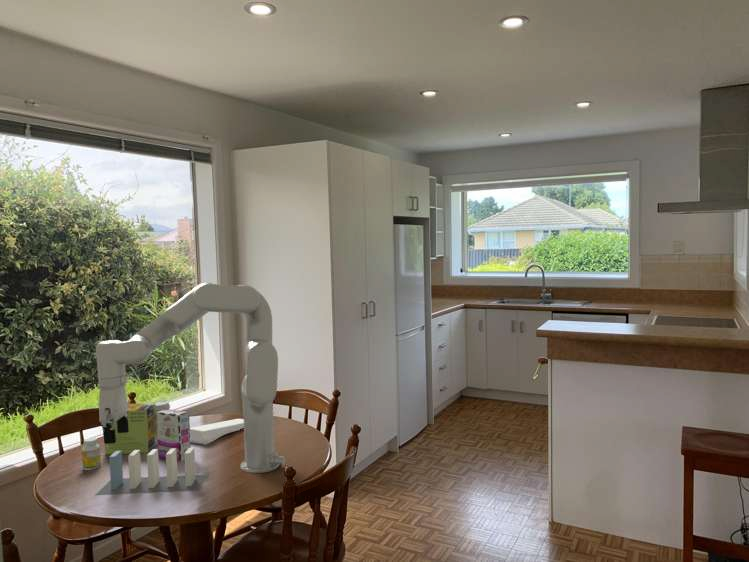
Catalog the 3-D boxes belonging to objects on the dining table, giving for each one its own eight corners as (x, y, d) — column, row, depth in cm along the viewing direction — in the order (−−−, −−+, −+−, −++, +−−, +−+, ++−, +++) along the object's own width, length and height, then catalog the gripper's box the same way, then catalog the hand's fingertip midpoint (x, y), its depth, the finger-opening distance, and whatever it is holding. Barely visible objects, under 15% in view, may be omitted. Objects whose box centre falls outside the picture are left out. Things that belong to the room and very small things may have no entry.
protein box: (149, 452, 202) (147, 409, 201) (104, 455, 201) (102, 411, 200) (158, 443, 212) (156, 402, 212) (115, 445, 211) (113, 404, 210)
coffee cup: (151, 430, 228) (150, 401, 228) (173, 429, 229) (172, 399, 228) (145, 437, 220) (144, 406, 219) (168, 435, 221) (166, 405, 220)
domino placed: (123, 482, 174) (121, 450, 173) (116, 489, 169) (114, 456, 168) (117, 482, 174) (116, 450, 173) (111, 489, 169) (109, 456, 168)
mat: (208, 476, 179) (208, 474, 179) (199, 491, 167) (199, 490, 167) (111, 480, 177) (111, 478, 177) (94, 496, 165) (94, 495, 165)
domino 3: (177, 480, 175) (176, 448, 174) (172, 486, 170) (171, 453, 169) (172, 480, 175) (170, 448, 174) (167, 487, 170) (165, 454, 169)
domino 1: (141, 481, 174) (139, 449, 174) (135, 488, 169) (133, 455, 169) (136, 482, 174) (134, 450, 174) (129, 488, 169) (128, 455, 169)
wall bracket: (237, 436, 236) (186, 448, 211) (235, 419, 237) (183, 429, 213) (256, 433, 231) (205, 445, 207) (253, 415, 233) (203, 425, 208)
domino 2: (159, 480, 174) (158, 449, 174) (153, 487, 169) (152, 454, 169) (154, 481, 174) (152, 449, 174) (148, 487, 169) (147, 455, 169)
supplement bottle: (100, 469, 187) (99, 440, 187) (82, 472, 185) (81, 443, 184) (100, 463, 192) (99, 435, 192) (83, 466, 190) (81, 438, 189)
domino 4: (195, 479, 175) (194, 447, 174) (191, 485, 170) (189, 453, 169) (190, 479, 175) (189, 447, 174) (185, 486, 170) (184, 453, 169)
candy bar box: (192, 458, 195) (190, 411, 194) (180, 463, 190) (178, 415, 190) (168, 453, 200) (166, 408, 199) (157, 458, 196) (155, 411, 195)
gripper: (111, 376, 178) (115, 429, 179) (86, 389, 161) (91, 448, 162) (135, 374, 179) (139, 428, 180) (113, 388, 161) (118, 446, 162)
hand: (116, 437), depth 171 cm, fingers open, 9 cm apart
